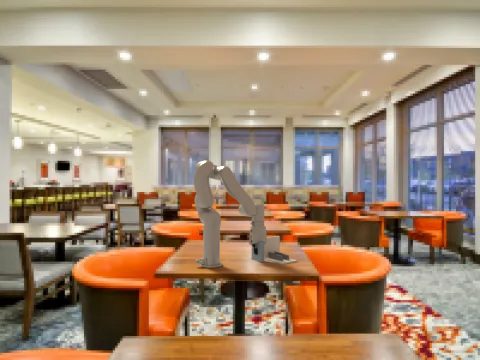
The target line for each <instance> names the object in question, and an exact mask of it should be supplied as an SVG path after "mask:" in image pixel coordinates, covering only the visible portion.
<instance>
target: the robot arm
mask: <svg viewBox="0 0 480 360" xmlns="http://www.w3.org/2000/svg"><path fill="white" fill-rule="evenodd" d="M210 179H212V180H217V181H220V182H221V184H222V185H223V187H224V188H225V190H226V192H227V194H228V195H229V196H231V197H232V198H233V199H234V200H236V201H237V203H239V206H238V212H239V214H240V215H241V216H244V217H248V218H249V217H250V218H251V222H249V223H250V225H251V227H250V230H249V242H248V245H250V246H251V247H252V246H253V248H254V254H255V255H258V248H257V243H259V241H264V244H265V243H267V237H268V234H267V229H266V225H265V205H264V203H258V202H257V203H255V202H254V201H253V199H252V197H251V196H250V195H249V194H248V192H247V191H246V190H245V189H244V188H243V187H242V185H241V184H240V182H239V181H238V179H237V178H236V176H235V174H234V172H233V171H232V169H231V167H229V166H228V165H216V164H214V163H213V162H212V161H211V160H209V159H208V160H207V159H205V160H202V161H199V162H197V163H196V165H195V173H194V175H193V185H194V189H195V190H194V191H195V196H194V205H195V209H196V211H197V215H198V219H199V221H200V222H201V223H202V224H203V231H202V232H203V233H202V234H203V235H202V245H203V246H202V257H201V258H200V259H195V260H194V263H195V264H199V265H200V267H201V268H208V269H211V268H212V269H213V268H220V267H222V266H223V262H222V261H220V260H221V223H222V217H221V214H220V212H219V211H217V210H215V209H213V206H214V203H215V199H214V195H213V191H212V189H211V184H210ZM252 242H253V243H252Z"/></svg>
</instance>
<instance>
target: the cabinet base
mask: <svg viewBox="0 0 480 360" xmlns="http://www.w3.org/2000/svg"><path fill="white" fill-rule="evenodd" d="M280 240H281V237H280V235H274V236H267V243H265V244H264V260H267V261H270V262H273V263H276V264H279V265H286V264H292V263H297V262H298V259H294V258H290V254H287V253H282V252H280V251H281V250H280V249H281V246H280V245H281V244H280V242H281V241H280Z"/></svg>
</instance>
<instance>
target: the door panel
mask: <svg viewBox="0 0 480 360" xmlns="http://www.w3.org/2000/svg"><path fill="white" fill-rule="evenodd" d="M252 243H253V242H252ZM257 248H258V255H255V254H254V248H253V246H252V245H251V260H254V261H255V262H256V261H257V262H258V263H264V262H265V258H264V241H259V243H257Z"/></svg>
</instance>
